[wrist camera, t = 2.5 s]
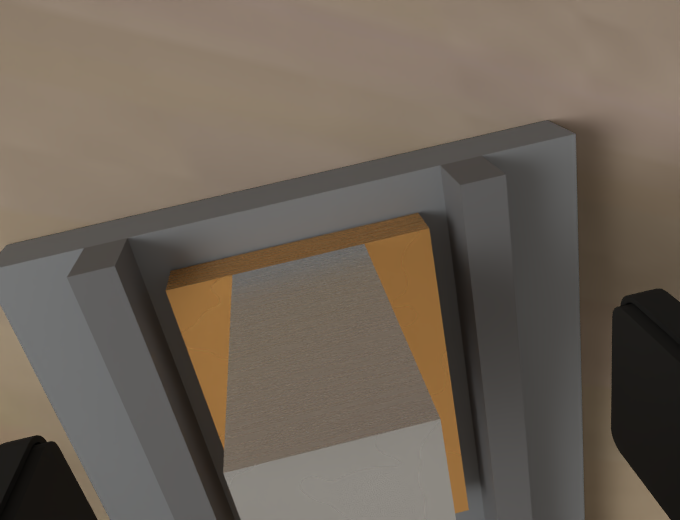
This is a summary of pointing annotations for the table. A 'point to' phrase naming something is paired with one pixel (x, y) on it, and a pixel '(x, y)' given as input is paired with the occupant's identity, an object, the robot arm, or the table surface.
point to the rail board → (303, 223)
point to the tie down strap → (328, 375)
